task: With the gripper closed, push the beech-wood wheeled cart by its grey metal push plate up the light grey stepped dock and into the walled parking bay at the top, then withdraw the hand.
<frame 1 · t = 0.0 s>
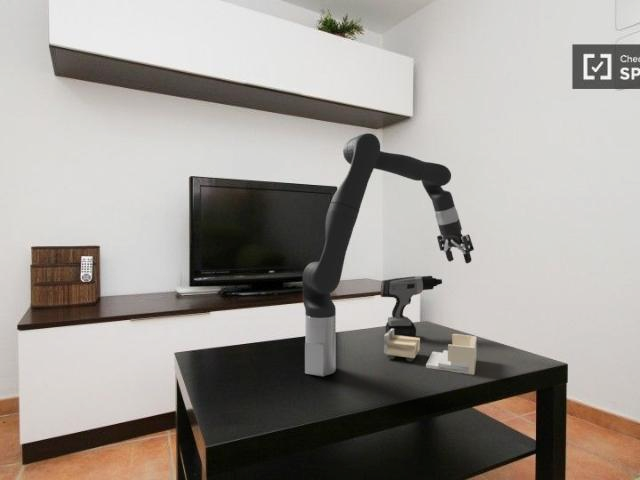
hand: (459, 261, 140), 31 cm above the table, tool tilted 20°, fingers open, 8 cm apart
dock: (437, 361, 124), on the table
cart: (402, 344, 129), point 4 cm above the table, slide at 0.0 cm
cordless drill: (410, 338, 152), on the table
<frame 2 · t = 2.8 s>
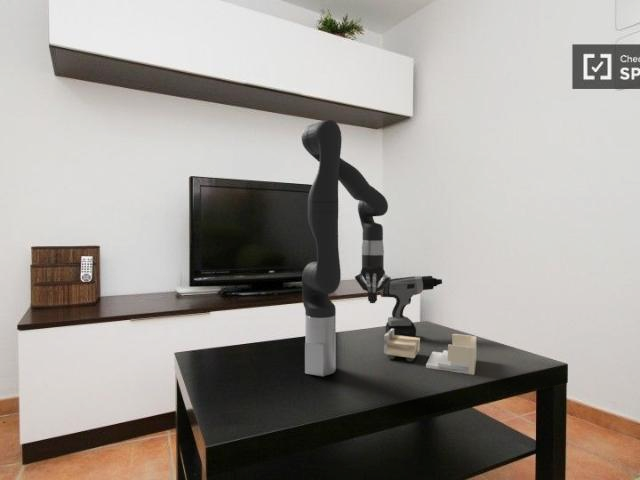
hand: (372, 302, 133), 18 cm above the table, tool pointing down, fingers closed
nothing on the table moved.
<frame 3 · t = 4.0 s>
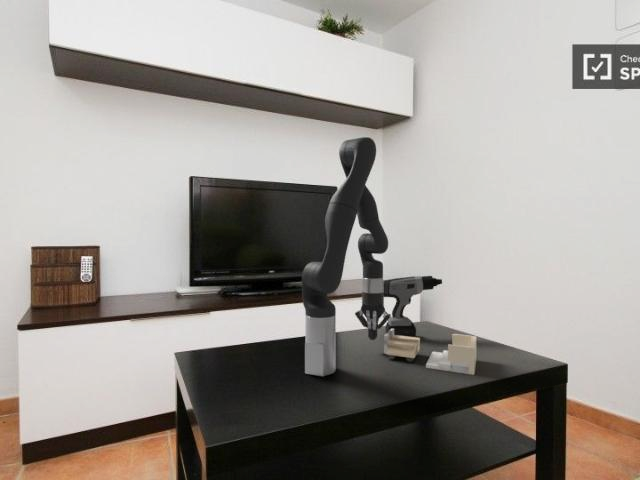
hand: (372, 339, 133), 5 cm above the table, tool pointing down, fingers closed
nothing on the table moved.
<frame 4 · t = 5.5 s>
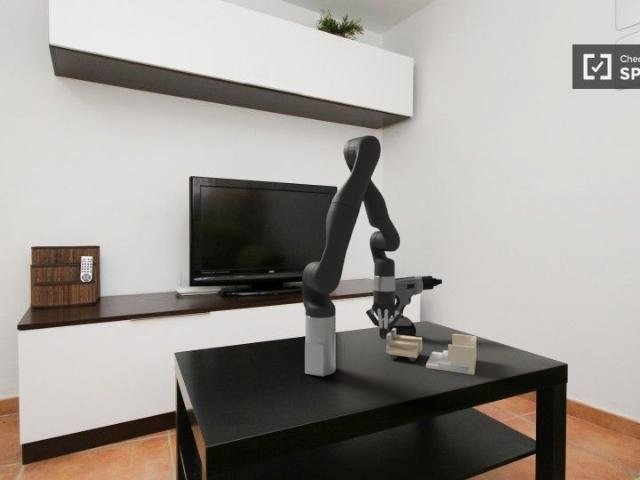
hand: (383, 338, 132), 5 cm above the table, tool pointing down, fingers closed
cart: (404, 344, 129), point 4 cm above the table, slide at 0.8 cm, touching gripper
everything else where it was.
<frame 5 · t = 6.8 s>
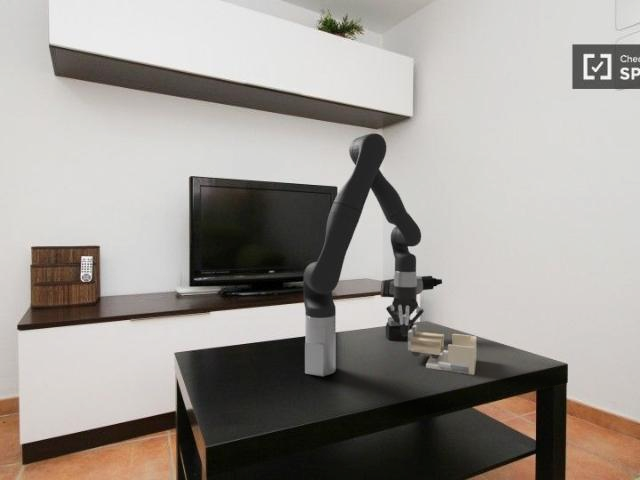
hand: (404, 335, 129), 7 cm above the table, tool pointing down, fingers closed
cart: (426, 341, 126), point 6 cm above the table, slide at 8.2 cm, touching gripper
everything else where it was.
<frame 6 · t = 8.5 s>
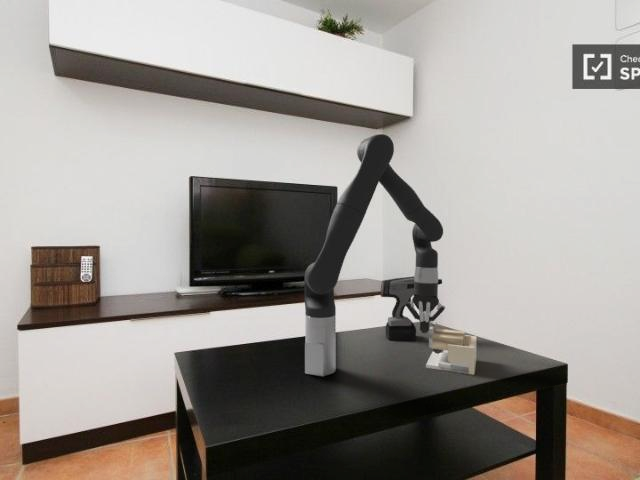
hand: (424, 332, 126), 9 cm above the table, tool pointing down, fingers closed
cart: (447, 338, 123), point 8 cm above the table, slide at 15.1 cm, touching gripper
everything else where it was.
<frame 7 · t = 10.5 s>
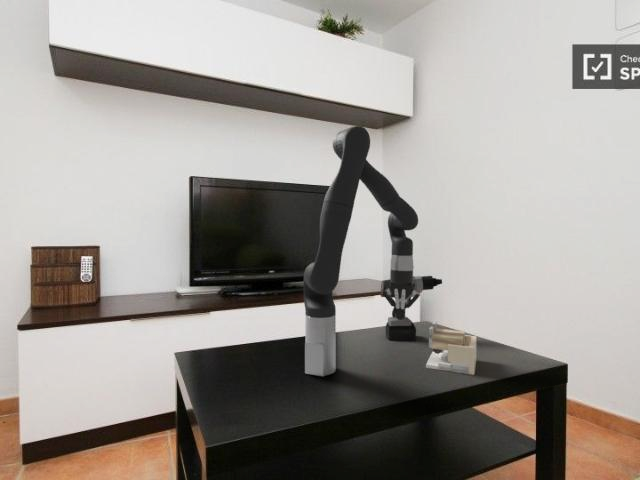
hand: (400, 319, 129), 13 cm above the table, tool pointing down, fingers closed
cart: (447, 338, 123), point 8 cm above the table, slide at 15.0 cm
everything else where it was.
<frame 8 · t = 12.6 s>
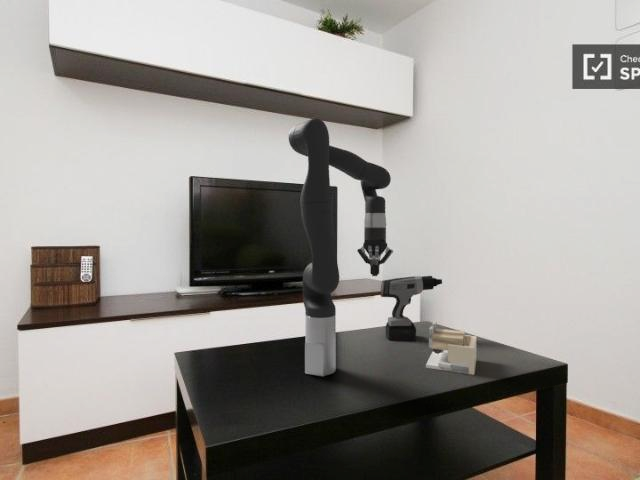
hand: (374, 275, 133), 27 cm above the table, tool pointing down, fingers closed
nothing on the table moved.
at the end: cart slide at 15.0 cm; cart 0.2 cm from the target spot, point 8.0 cm above the table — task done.
